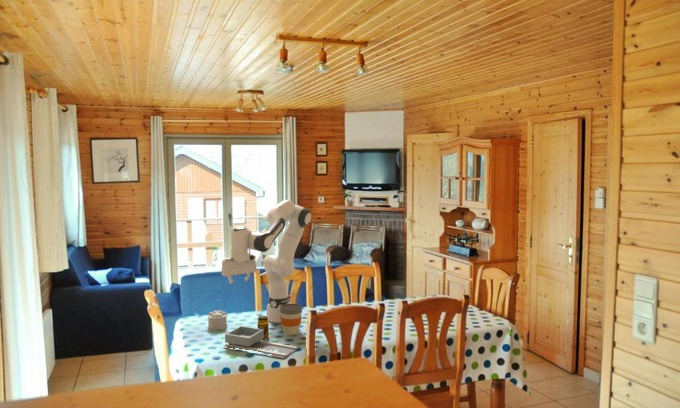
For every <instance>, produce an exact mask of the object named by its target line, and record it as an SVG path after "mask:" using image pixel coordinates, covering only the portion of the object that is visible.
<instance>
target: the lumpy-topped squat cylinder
mask: <svg viewBox="0 0 680 408" xmlns="http://www.w3.org/2000/svg"><path fill="white" fill-rule="evenodd" d="M227 318H228V317H227V313H226V311H222V309H219V310H213V311H210V312H209V313H208V315H207V319H208V320H207V321H208V330H211V331H216V330H217V331H218V330H225V329H227V327H228V326H227V325H228V323H227V322H228V321H227Z"/></svg>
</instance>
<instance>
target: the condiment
mask: <svg viewBox="0 0 680 408" xmlns="http://www.w3.org/2000/svg"><path fill="white" fill-rule="evenodd" d="M269 323H270V322H269V321H268V317H267V316H265V315H260V316H258V318H257V329H263V330H264V338H263V339H261V340H265V339H267V340H269V339H271V338H272V336H270V334H269V332H270V331H269V329H270V327H269ZM268 338H269V339H268ZM265 341H266V340H265Z"/></svg>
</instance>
